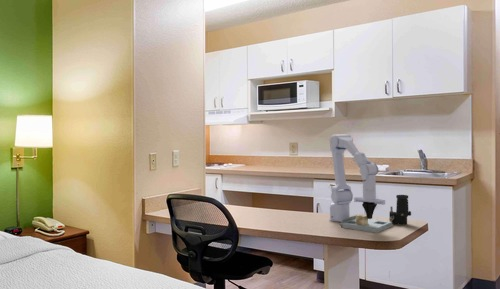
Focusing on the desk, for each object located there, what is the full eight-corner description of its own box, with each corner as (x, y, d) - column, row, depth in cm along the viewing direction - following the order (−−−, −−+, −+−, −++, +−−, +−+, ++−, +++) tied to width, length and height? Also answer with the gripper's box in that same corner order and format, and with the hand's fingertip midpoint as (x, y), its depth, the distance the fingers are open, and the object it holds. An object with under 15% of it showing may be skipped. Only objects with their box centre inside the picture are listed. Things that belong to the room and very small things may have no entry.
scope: (389, 193, 205) (410, 194, 201) (389, 221, 205) (411, 222, 202) (388, 196, 197) (411, 197, 194) (389, 225, 198) (411, 226, 194)
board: (341, 227, 196) (341, 219, 196) (357, 221, 208) (357, 214, 207) (376, 232, 184) (376, 224, 183) (392, 226, 195) (392, 218, 195)
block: (356, 224, 193) (355, 215, 193) (360, 222, 196) (360, 214, 195) (363, 225, 190) (363, 216, 190) (368, 223, 193) (367, 215, 193)
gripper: (350, 189, 192) (351, 218, 192) (380, 191, 182) (380, 222, 182) (358, 187, 197) (358, 215, 197) (387, 189, 187) (387, 219, 187)
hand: (369, 218), depth 190 cm, fingers closed
